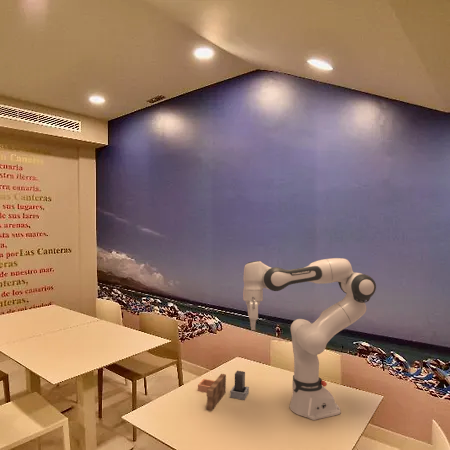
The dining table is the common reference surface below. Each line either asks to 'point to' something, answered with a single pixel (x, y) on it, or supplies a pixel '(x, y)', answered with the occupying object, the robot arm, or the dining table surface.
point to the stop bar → (240, 381)
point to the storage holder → (239, 393)
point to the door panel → (216, 392)
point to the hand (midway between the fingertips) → (252, 328)
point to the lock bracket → (205, 385)
